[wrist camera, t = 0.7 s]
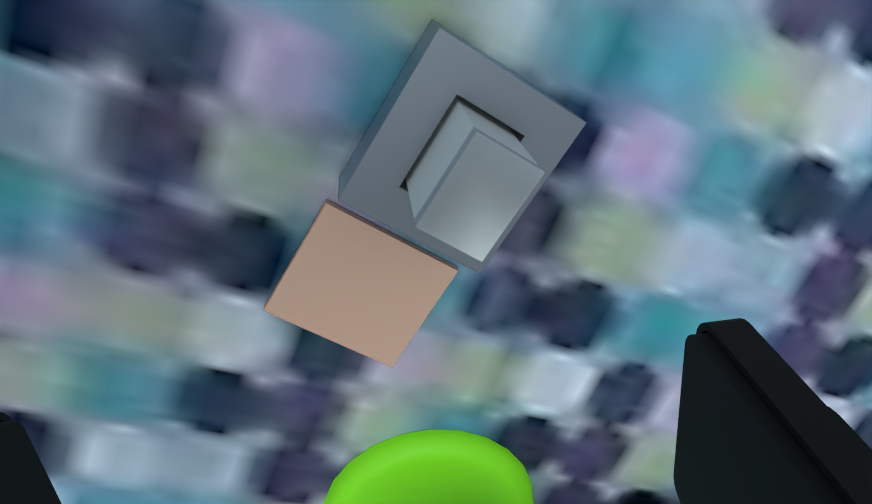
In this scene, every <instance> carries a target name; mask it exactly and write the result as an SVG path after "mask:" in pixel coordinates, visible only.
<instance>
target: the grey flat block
mask: <svg viewBox="0 0 872 504" xmlns="http://www.w3.org/2000/svg"><path fill="white" fill-rule="evenodd" d="M456 95H459V96H461V97H462V98H464V99H466V100H467V101H469V102H470V103H472V104H474V105H475V106H477V107H479V108H480V109H482V110H483V111H485V112H487V113H488V114H490V115H492V116H493V117H495V118H496V119H498V120H500V121H501V122H503V123H505V124H506V125H507V126H508V128H509V129H510V130H511V131H512V133H513V134H514V135H515V136H516V138H517V139H518V140H519V141H520V143H521V144H522V145H523V146H524V148H525V149H526V150H527V151H528V153H529V154H530V155H531V156H532V158H533V159H534V160H535V161H536V163H537V164H538V165H539V166H540V167H541V168H542V169H543V171H544V172H545V173H544V175H543V176H542V177H541V179H540V180H539V182H538V183H537V185H536V186H535V187H534V189H533V190H532V192H531V193H530V195H529V196H528V197H527V199H526V200H525V202H524V203H523V205H522V206H521V207H520V209H519V210H518V212H517V213H516V215H515V216H514V217H513V219H512V220H511V222H510V223H509V225H508V226H507V227H506V229H505V230H504V232H503V233H502V235H501V236H500V237H499V239H498V240H497V242H496V243H495V245H494V246H493V247H492V249H491V250H490V252H489V253H488V255H487V256H486V257H485V259H484V260H483V262H481V261H479V260H477V259H475V258H473V257H471V256H469V255H467V254H465V253H464V252H462V251H460V250H458V249H456V248H454V247H452V246H450V245H448V244H446V243H445V242H443V241H441V240H439V239H437V238H435V237H433V236H431V235H429V234H427V233H426V232H424V231H422V230H420V229H418V228H416V227H415V223H414V216H413V211H412V206H411V202H410V197H409V192H408V188H407V183H406V178H405V177H406V175H407V174H408V172H409V170H410V169H411V167H412V166H413V164H414V162H415V161H416V159H417V158H418V156H419V154H420V153H421V151H422V150H423V148H424V146H425V145H426V143H427V141H428V140H429V138H430V137H431V135H432V133H433V132H434V130H435V129H436V127H437V125H438V124H439V122H440V121H441V119H442V117H443V116H444V114H445V112H446V111H447V109H448V108H449V106H450V104H451V103H452V101H453V100H454V98H455V96H456ZM585 124H586V122H585V121H584V120H582V119H581V118H580V117H579V116H577V115H576V114H575V113H574V112H572V111H571V110H570V109H569V108H567V107H566V106H565V105H563V104H561V103H560V102H558V101H557V100H555V99H554V98H552V97H551V96H549V95H548V94H546V93H545V92H543V91H541V90H540V89H538V88H537V87H535V86H534V85H532V84H531V83H529V82H528V81H526V80H525V79H523V78H521V77H520V76H518V75H517V74H515V73H514V72H512V71H511V70H509V69H508V68H506V67H504V66H503V65H501V64H500V63H498V62H497V61H495V60H494V59H492V58H491V57H489V56H488V55H486V54H484V53H483V52H481V51H480V50H478V49H477V48H475V47H474V46H472V45H471V44H469V43H468V42H466V41H464V40H463V39H461V38H460V37H458V36H457V35H455V34H454V33H452V32H451V31H449V30H448V29H446V28H444V27H443V26H441V25H440V24H438V23H437V22H435V21H434V20H432V19H431V21H430V23H429V25H428V26H427V28H426V30H425V31H424V33H423V35H422V37H421V38H420V40H419V42H418V43H417V45H416V47H415V49H414V50H413V52H412V54H411V55H410V57H409V59H408V61H407V62H406V64H405V66H404V67H403V69H402V71H401V73H400V74H399V76H398V78H397V79H396V81H395V83H394V85H393V86H392V88H391V90H390V91H389V93H388V95H387V97H386V98H385V100H384V102H383V103H382V105H381V107H380V109H379V110H378V112H377V114H376V115H375V117H374V119H373V121H372V122H371V124H370V126H369V127H368V129H367V131H366V133H365V134H364V136H363V138H362V139H361V141H360V143H359V145H358V146H357V148H356V150H355V151H354V153H353V155H352V157H351V158H350V160H349V162H348V164H347V165H346V167H345V169H344V170H343V172H342V174H341V176H340V177H339V189H338V201H340V202H342V203H344V204H346V205H348V206H350V207H352V208H354V209H356V210H358V211H360V212H361V213H363V214H365V215H367V216H369V217H371V218H373V219H375V220H377V221H379V222H381V223H383V224H385V225H387V226H389V227H390V228H392V229H394V230H396V231H398V232H400V233H402V234H404V235H406V236H408V237H410V238H412V239H414V240H416V241H417V242H419V243H421V244H423V245H425V246H427V247H429V248H431V249H433V250H435V251H437V252H439V253H441V254H443V255H445V256H446V257H448V258H450V259H452V260H454V261H456V262H458V263H460V264H462V265H464V266H466V267H468V268H470V269H472V270H473V271H475V272H477V273H479V274H480V273H481V272H482V270H483V269H484V267H485V266H486V265H487V263H488V262H489V260H490V259H491V258H492V256H493V255H494V253H495V252H496V250H497V249H498V248H499V246H500V245H501V243H502V242H503V240H504V239H505V238H506V236H507V235H508V233H509V232H510V231H511V229H512V228H513V226H514V225H515V223H516V222H517V221H518V219H519V218H520V216H521V215H522V213H523V212H524V211H525V209H526V208H527V206H528V205H529V204H530V202H531V201H532V199H533V198H534V196H535V195H536V194H537V192H538V191H539V189H540V188H541V187H542V185H543V184H544V182H545V181H546V179H547V178H548V177H549V175H550V174H551V172H552V171H553V169H554V168H555V167H556V165H557V164H558V162H559V161H560V160H561V158H562V157H563V155H564V154H565V152H566V151H567V150H568V148H569V147H570V145H571V144H572V142H573V141H574V140H575V138H576V137H577V135H578V134H579V133H580V131H581V130H582V128H583V127H584V125H585Z"/></svg>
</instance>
